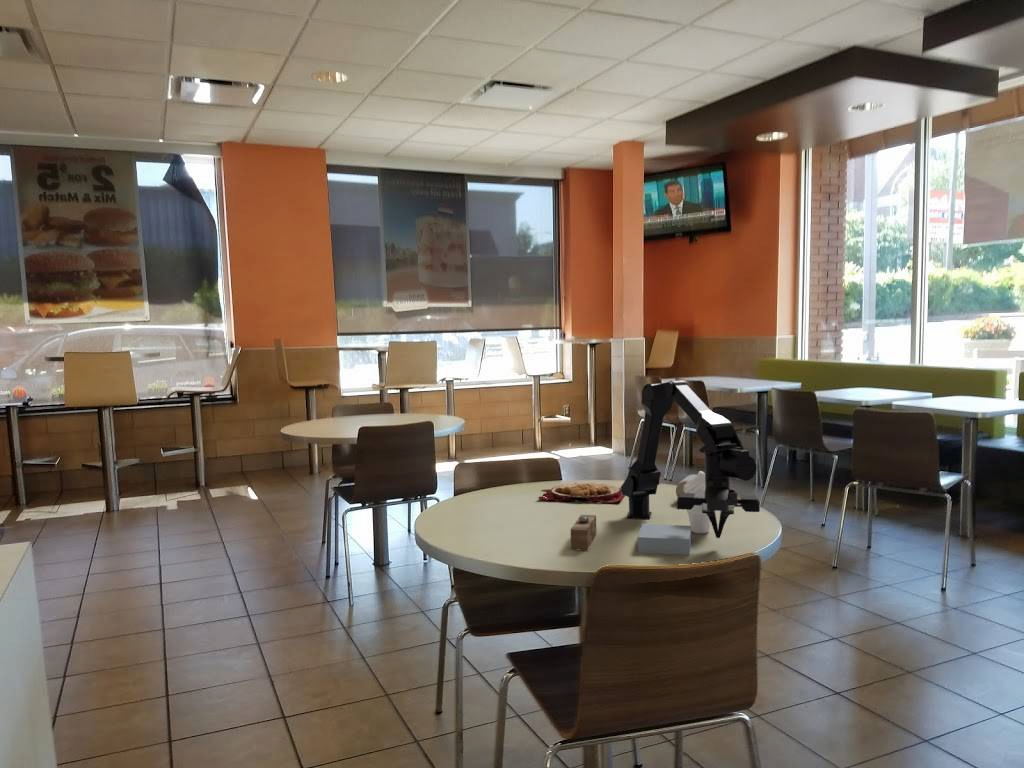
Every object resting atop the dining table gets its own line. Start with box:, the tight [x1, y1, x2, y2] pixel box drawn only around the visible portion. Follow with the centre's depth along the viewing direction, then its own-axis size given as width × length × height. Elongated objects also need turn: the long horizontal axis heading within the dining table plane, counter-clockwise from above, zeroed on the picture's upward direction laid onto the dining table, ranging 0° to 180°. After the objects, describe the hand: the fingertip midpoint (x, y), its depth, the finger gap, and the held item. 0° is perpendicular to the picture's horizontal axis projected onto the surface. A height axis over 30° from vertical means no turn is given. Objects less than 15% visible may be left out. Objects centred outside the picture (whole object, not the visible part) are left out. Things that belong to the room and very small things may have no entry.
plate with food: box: [538, 482, 625, 505], centre depth 235 cm, size 24×26×3 cm
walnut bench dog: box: [570, 514, 597, 551], centre depth 183 cm, size 14×4×6 cm, turn 164°
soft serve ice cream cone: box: [683, 470, 711, 534], centre depth 188 cm, size 8×8×16 cm
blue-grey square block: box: [637, 523, 692, 556], centre depth 177 cm, size 12×12×4 cm
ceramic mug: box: [675, 474, 697, 498], centre depth 220 cm, size 11×8×8 cm
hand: (718, 537), depth 174 cm, fingers closed
